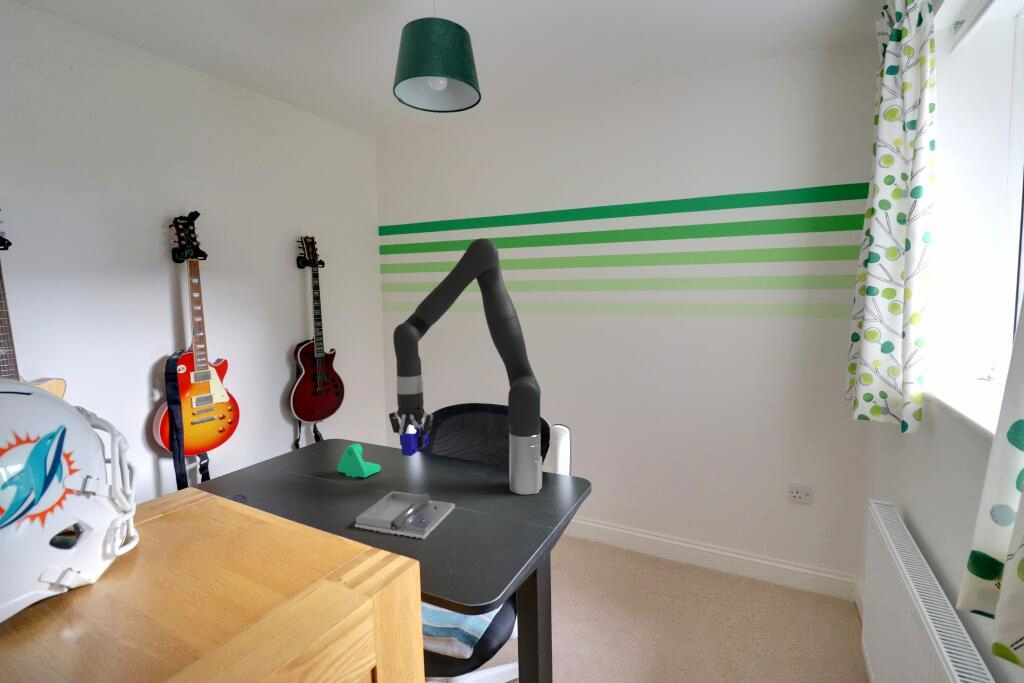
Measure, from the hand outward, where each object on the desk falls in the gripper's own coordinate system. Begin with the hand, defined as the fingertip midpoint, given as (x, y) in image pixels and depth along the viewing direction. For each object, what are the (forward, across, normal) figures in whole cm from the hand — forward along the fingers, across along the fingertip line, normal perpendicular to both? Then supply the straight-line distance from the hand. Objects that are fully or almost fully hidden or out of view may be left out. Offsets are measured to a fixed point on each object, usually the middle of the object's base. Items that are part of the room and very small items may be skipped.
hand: (412, 447), depth 140 cm
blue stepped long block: (+1, 0, 0) cm, 1 cm away
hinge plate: (+13, -7, +17) cm, 22 cm away
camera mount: (+13, +24, -7) cm, 28 cm away
